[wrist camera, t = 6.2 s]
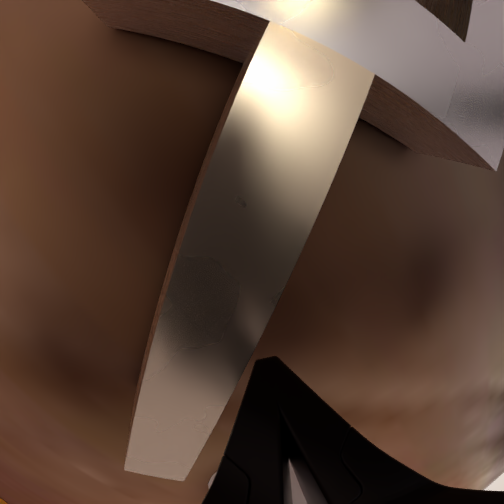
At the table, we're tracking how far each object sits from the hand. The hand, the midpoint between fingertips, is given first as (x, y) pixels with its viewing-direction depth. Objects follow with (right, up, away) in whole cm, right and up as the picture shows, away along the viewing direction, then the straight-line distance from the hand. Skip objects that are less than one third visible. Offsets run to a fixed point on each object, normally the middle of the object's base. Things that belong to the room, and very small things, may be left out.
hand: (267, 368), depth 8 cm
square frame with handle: (0, +7, -1) cm, 7 cm away
